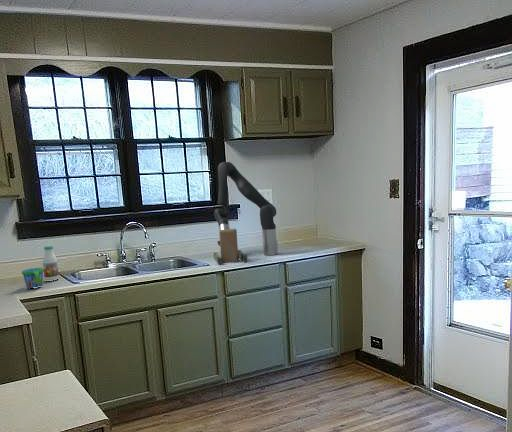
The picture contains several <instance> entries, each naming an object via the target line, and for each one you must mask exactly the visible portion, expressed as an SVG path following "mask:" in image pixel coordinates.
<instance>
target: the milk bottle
mask: <svg viewBox="0 0 512 432" xmlns="http://www.w3.org/2000/svg"><path fill="white" fill-rule="evenodd" d="M43 249H44V255H43V259H42V268H43V269H44V271H43V279H44V281H45V280H54V279H58V278H59V279H60V275H59V274H60V273H59V264H58V259H57V256H56V255H55V252H54V246H53V245H46V246H44V247H43Z"/></svg>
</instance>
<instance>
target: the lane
mask: <svg viewBox="0 0 512 432" xmlns="http://www.w3.org/2000/svg"><path fill="white" fill-rule="evenodd" d="M213 259H214V261H215V262H216V263H217V265H218V266H223V262H222V259H221V255H219V254H218V252H215V251H214V252H213ZM238 259H240V260H241V261H242V262H243V263H244V264H246V263H248V256H247V255H246V254H245V252H243V251H242V250H241V249H238Z"/></svg>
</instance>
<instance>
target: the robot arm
mask: <svg viewBox="0 0 512 432" xmlns="http://www.w3.org/2000/svg"><path fill="white" fill-rule="evenodd" d="M217 178H218V196H217V197H218V198H217V204H218V206H222V207H223V208H216V209H214V211H213V215H214V218H215V220H216V222H217V224H218V231H219V232H220V231H221V230H222V229H231V227H230V223H229V217H230V210H229V187H228V178H230V179H231V180H232V181H233V182H234V184H235V186H236V188H237V190H238V191H239V192H240V194H241V195H242V196H243V197H245V198H246V200H248V201H250V203H253V204H255V206H257V207H258V208H259V220H260V226H261V231H262V232H261V233H262V247H263V248H262V250H263V251H262V253H263V256H275V255H278V254H279V247H278V239H277V226H276V224H275V221H274V217H276V215H277V209H276V207H275V206H274V205H273V204H272V203H271V202H270V201H268V200H267V199H266V198H265V197H264V196H263V195H262V194H261V193H260V192H259V191H258V189H256V187H254V185H253V184H252V183H251V182H250V181H249V180H248V179H247V178H245V176H244V175H243V174H242V173H241V172H240V171H239V170H238V169H237V167H236V166H235V165H234V164H233V163H232V162H230V161H222V162H220V163H219V164H218V166H217ZM219 232H218V233H219ZM217 246H219V247H220V240H218V241H217Z"/></svg>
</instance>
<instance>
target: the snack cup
mask: <svg viewBox="0 0 512 432" xmlns="http://www.w3.org/2000/svg"><path fill="white" fill-rule="evenodd" d="M21 274H22V276H23V278H24V279H23V280H24V282H25V287H26V289H27V288H33V287H38V286H41V285H42V286H43V282H44V281H43V279H44V269H43V267H35V268H34V267H33V268H28V269H24V270H21Z"/></svg>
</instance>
